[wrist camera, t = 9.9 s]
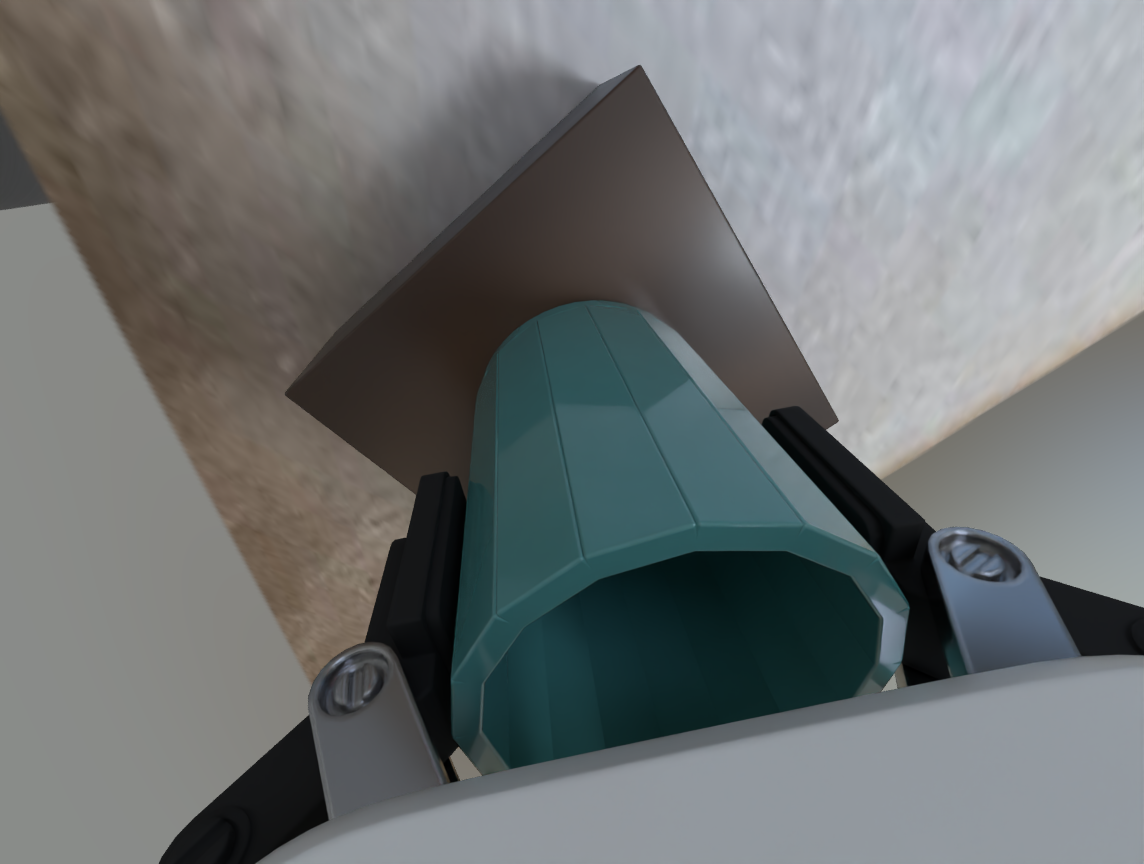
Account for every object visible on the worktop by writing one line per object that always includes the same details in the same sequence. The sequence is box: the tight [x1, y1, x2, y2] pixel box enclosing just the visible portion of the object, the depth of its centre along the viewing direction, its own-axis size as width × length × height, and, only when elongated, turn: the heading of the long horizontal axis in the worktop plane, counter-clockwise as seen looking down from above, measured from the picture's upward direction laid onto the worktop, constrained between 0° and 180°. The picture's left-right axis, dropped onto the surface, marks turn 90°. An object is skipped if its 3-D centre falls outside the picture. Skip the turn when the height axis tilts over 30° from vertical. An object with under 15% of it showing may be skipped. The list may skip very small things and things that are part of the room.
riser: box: [285, 65, 839, 501], centre depth 17 cm, size 12×12×5 cm
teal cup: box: [450, 300, 910, 776], centre depth 11 cm, size 7×7×9 cm
